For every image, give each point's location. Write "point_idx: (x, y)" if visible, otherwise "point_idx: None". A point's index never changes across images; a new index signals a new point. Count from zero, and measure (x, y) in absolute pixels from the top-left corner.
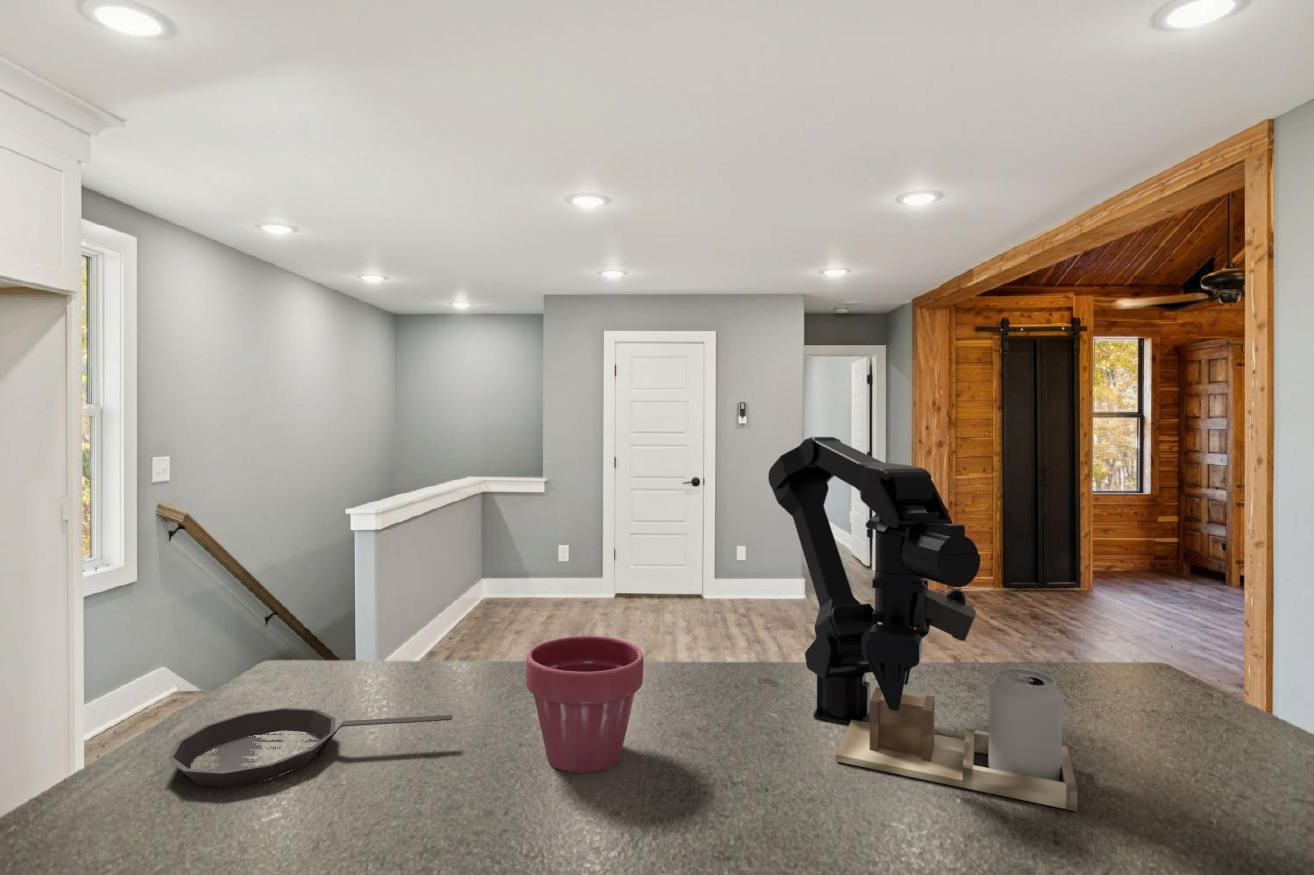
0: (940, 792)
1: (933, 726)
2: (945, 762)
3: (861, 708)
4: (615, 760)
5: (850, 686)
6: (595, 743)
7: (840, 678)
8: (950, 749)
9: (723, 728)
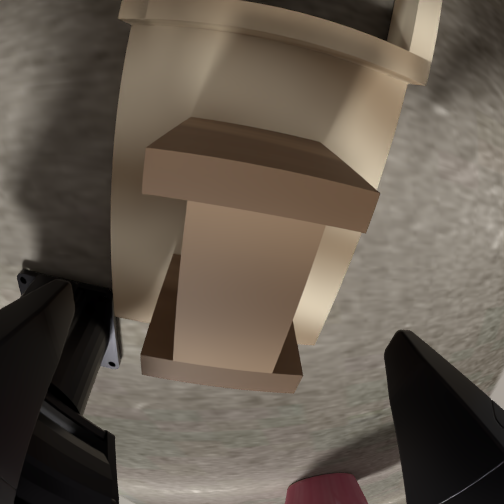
0: (415, 139)
1: (224, 133)
2: (314, 100)
3: (75, 307)
4: (338, 475)
5: (71, 372)
6: (363, 496)
7: (78, 406)
8: (215, 70)
9: (221, 443)
